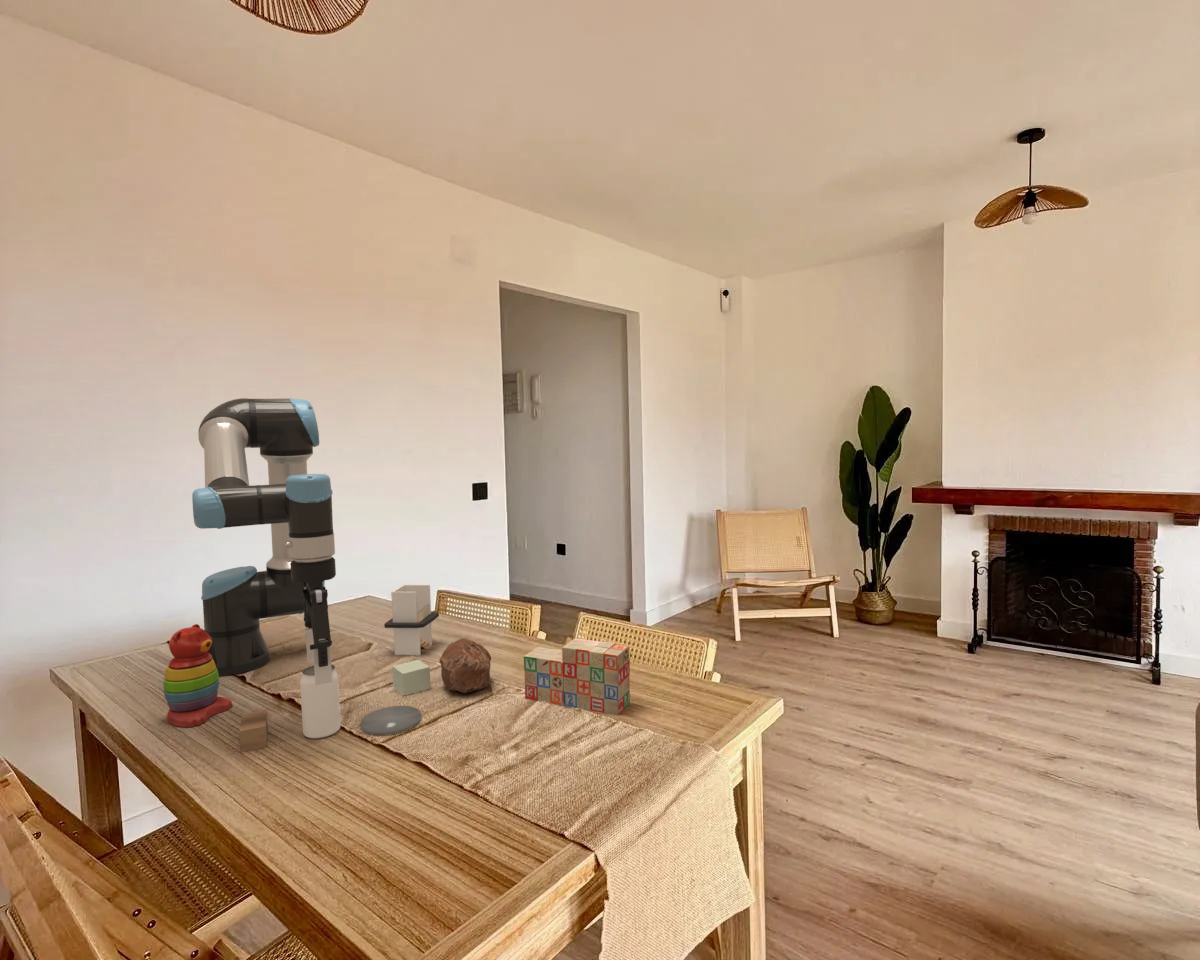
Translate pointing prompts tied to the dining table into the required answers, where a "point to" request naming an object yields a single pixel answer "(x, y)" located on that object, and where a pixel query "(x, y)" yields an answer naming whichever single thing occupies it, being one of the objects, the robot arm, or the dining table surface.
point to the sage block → (411, 677)
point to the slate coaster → (390, 720)
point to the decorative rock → (465, 666)
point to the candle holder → (411, 619)
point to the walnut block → (253, 731)
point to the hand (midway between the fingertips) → (319, 671)
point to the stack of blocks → (580, 676)
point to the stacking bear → (192, 679)
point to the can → (319, 705)
